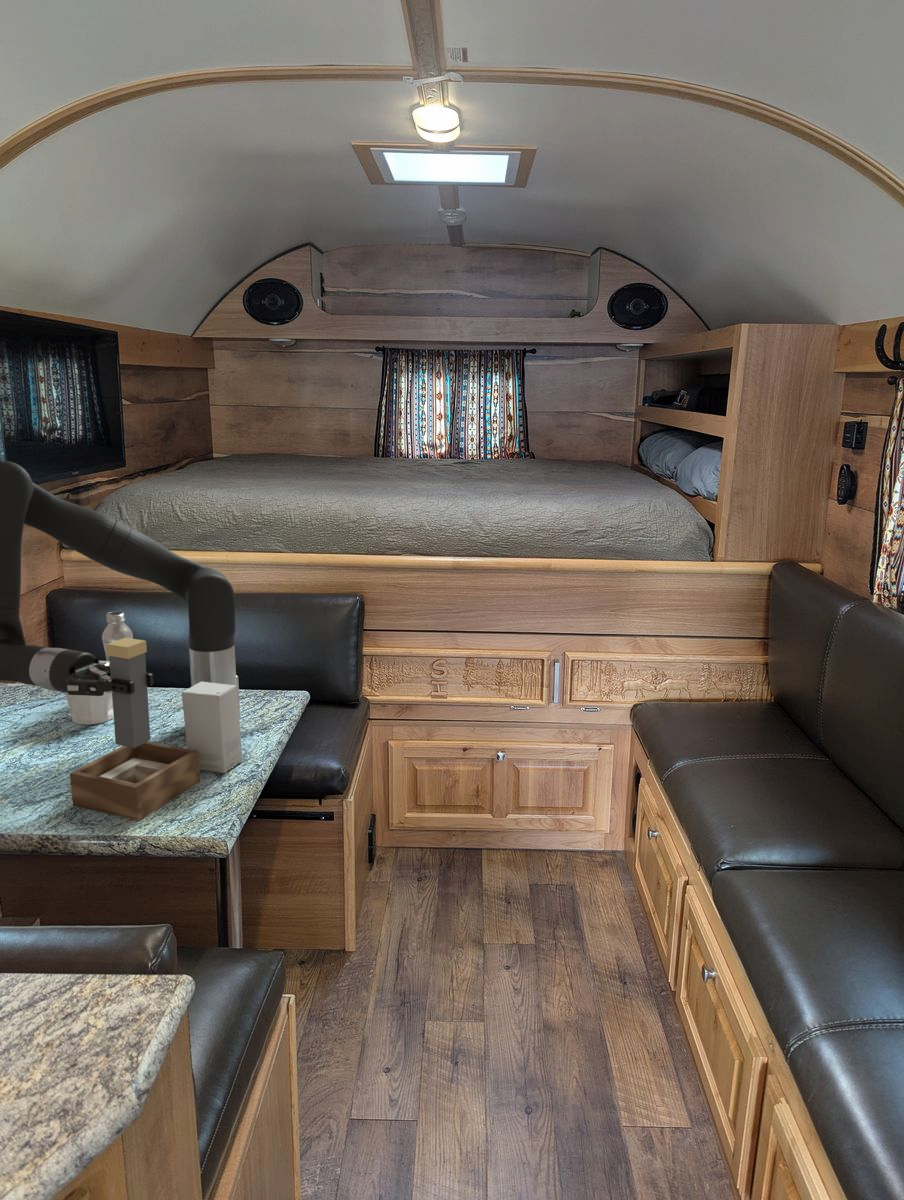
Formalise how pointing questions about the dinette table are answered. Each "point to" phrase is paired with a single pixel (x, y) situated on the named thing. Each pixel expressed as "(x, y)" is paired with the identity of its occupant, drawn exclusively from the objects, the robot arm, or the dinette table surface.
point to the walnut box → (135, 779)
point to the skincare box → (213, 725)
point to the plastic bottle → (115, 630)
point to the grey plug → (134, 707)
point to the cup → (91, 707)
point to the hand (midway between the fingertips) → (142, 684)
